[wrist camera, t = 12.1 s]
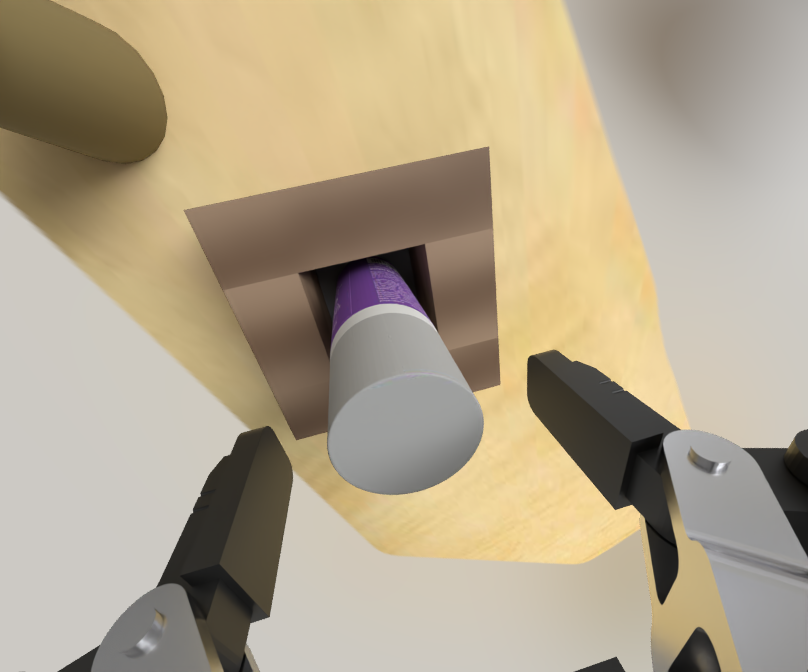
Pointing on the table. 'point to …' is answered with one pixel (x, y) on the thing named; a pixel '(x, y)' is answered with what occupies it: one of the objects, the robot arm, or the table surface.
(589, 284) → the table surface
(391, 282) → the container
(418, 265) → the well block
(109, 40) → the cork
